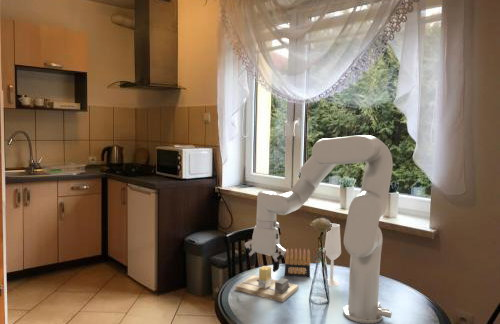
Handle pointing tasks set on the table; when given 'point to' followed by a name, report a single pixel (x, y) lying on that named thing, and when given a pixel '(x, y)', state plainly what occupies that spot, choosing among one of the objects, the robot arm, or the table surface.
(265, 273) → the sliding leg
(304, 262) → the ammunition clip
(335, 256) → the champagne flute
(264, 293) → the board
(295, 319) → the table surface
